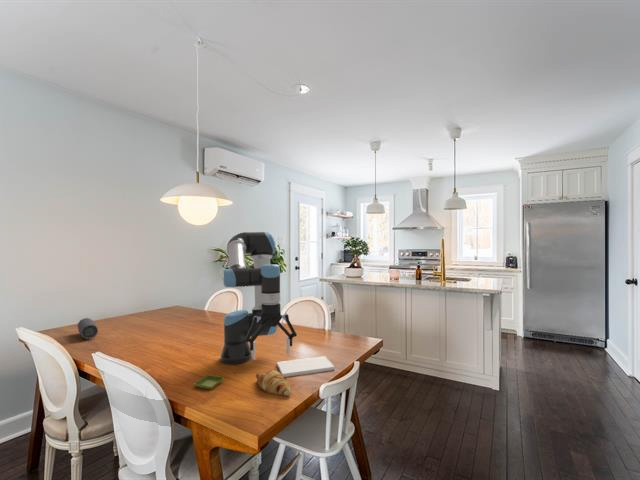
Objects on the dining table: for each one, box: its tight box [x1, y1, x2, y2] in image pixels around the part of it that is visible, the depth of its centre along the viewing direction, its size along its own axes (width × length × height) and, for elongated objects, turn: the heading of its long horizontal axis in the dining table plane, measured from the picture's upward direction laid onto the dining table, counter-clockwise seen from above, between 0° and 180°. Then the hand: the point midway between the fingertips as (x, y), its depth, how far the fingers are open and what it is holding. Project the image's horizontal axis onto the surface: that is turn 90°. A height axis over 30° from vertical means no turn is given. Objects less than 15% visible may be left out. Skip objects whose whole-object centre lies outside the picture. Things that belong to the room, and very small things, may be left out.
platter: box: [276, 355, 336, 378], centre depth 148 cm, size 24×14×2 cm, turn 107°
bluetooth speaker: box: [77, 317, 99, 340], centre depth 199 cm, size 23×9×10 cm, turn 42°
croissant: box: [255, 369, 292, 396], centre depth 127 cm, size 21×10×8 cm, turn 48°
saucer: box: [193, 374, 225, 390], centre depth 131 cm, size 9×9×2 cm
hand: (271, 356), depth 127 cm, fingers open, 13 cm apart
